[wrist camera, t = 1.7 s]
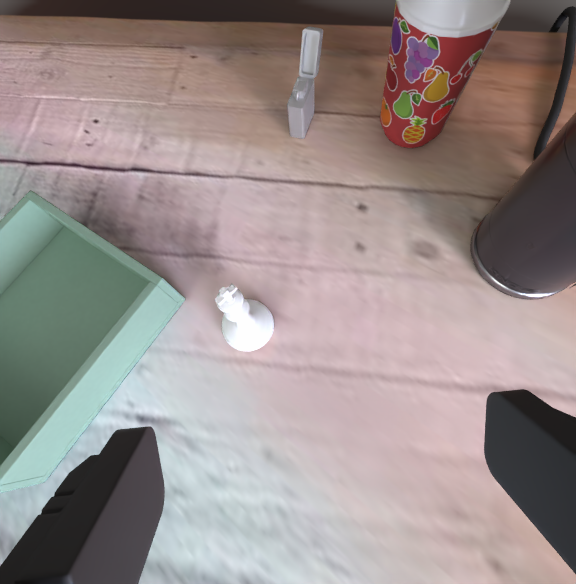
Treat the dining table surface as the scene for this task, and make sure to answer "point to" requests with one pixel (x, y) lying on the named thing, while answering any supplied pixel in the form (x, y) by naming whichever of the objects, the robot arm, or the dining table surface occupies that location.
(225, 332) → the chess piece
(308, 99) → the lighter
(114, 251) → the open box
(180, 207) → the dining table surface
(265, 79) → the dining table surface
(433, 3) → the smoothie
